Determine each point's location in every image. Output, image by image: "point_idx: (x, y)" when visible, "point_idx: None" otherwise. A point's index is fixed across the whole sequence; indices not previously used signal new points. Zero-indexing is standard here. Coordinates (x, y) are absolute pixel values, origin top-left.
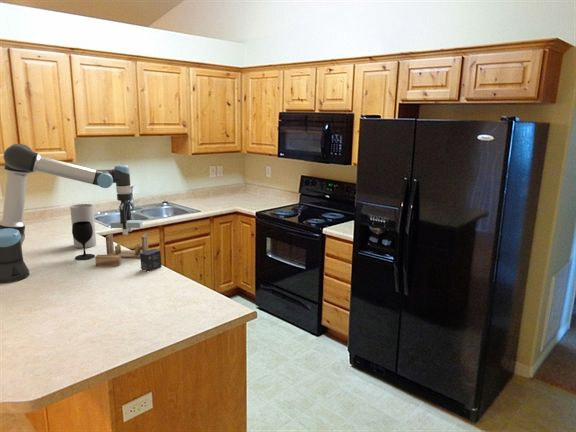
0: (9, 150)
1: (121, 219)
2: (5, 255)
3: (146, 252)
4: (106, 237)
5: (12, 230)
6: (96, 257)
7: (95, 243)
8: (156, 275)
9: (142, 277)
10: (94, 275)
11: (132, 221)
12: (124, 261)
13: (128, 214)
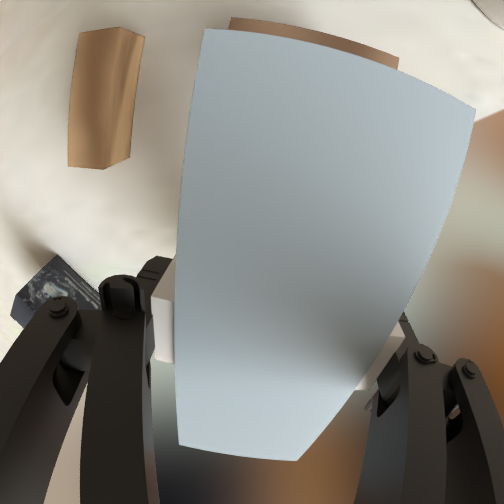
0: None
1: (22, 359)
2: None
3: (25, 318)
4: (230, 26)
5: None
6: (80, 40)
7: (498, 22)
8: None
9: (13, 259)
10: (15, 90)
11: (251, 415)
12: (156, 169)
13: (364, 477)
